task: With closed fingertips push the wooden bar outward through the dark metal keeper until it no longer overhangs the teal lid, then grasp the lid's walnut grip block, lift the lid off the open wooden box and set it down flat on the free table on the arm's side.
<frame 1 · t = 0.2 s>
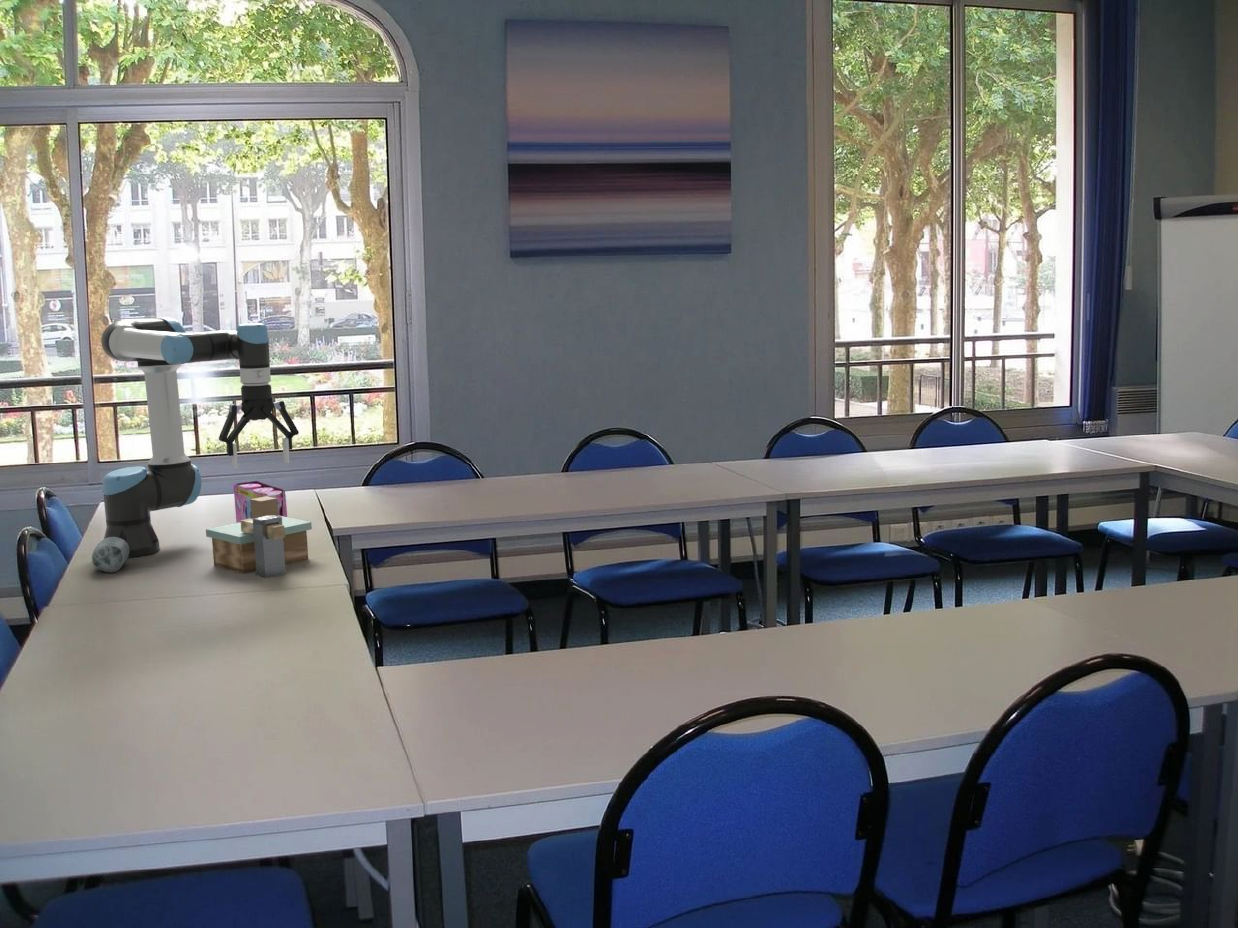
hand: (261, 465, 322), 27 cm above the table, fingers open, 13 cm apart
keeper: (271, 574, 318), on the table
lid: (259, 532, 331), point 8 cm above the table, touching open wooden box
spool: (112, 569, 329), on the table
wooden bar: (262, 528, 318), point 12 cm above the table, slide at 0.0 cm
open wooden box: (261, 561, 332), on the table
gum box: (262, 531, 371), on the table
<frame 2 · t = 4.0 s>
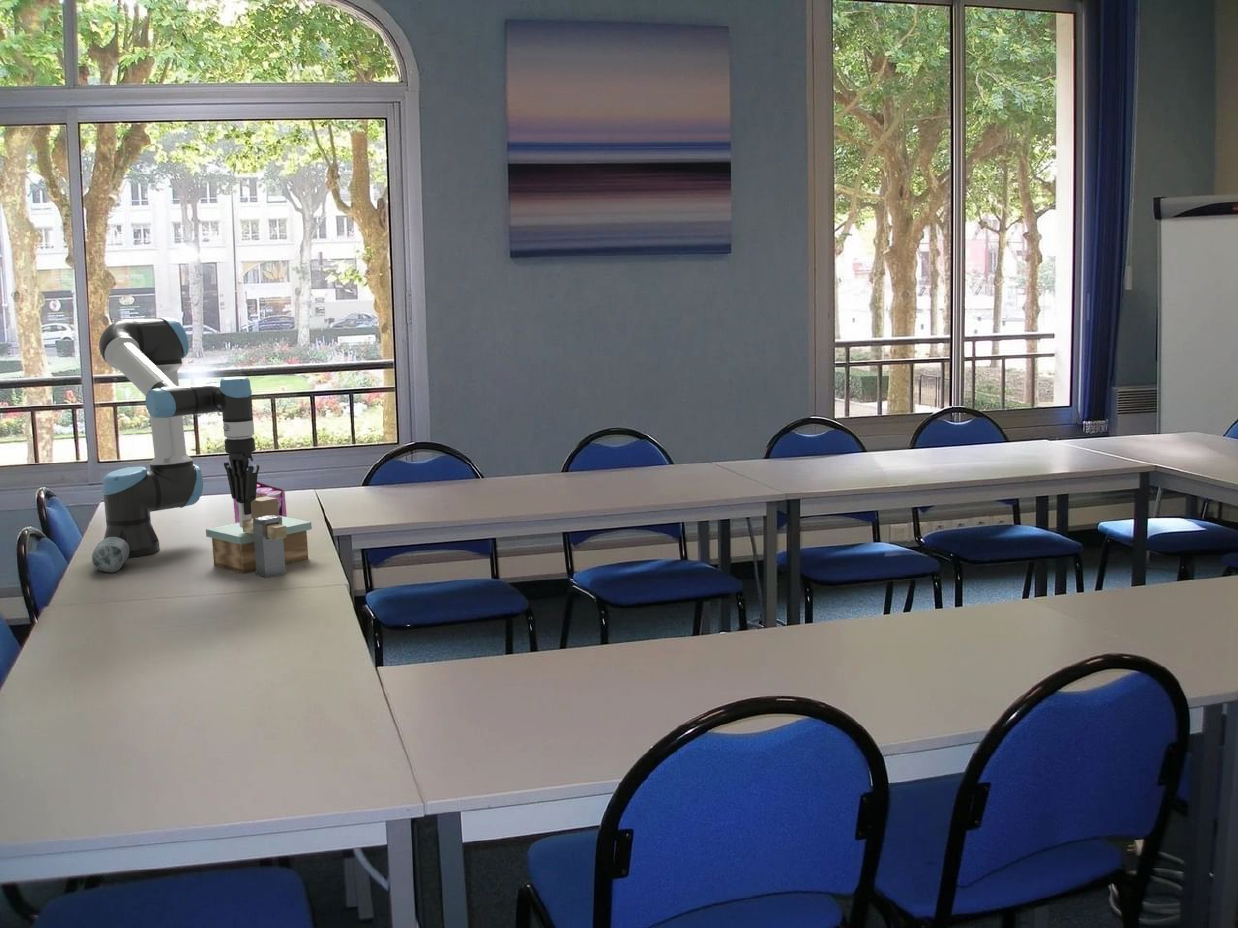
hand: (245, 526, 323), 11 cm above the table, fingers closed
wooden bar: (264, 528, 318), point 12 cm above the table, slide at 0.8 cm, touching gripper
everything else where it was.
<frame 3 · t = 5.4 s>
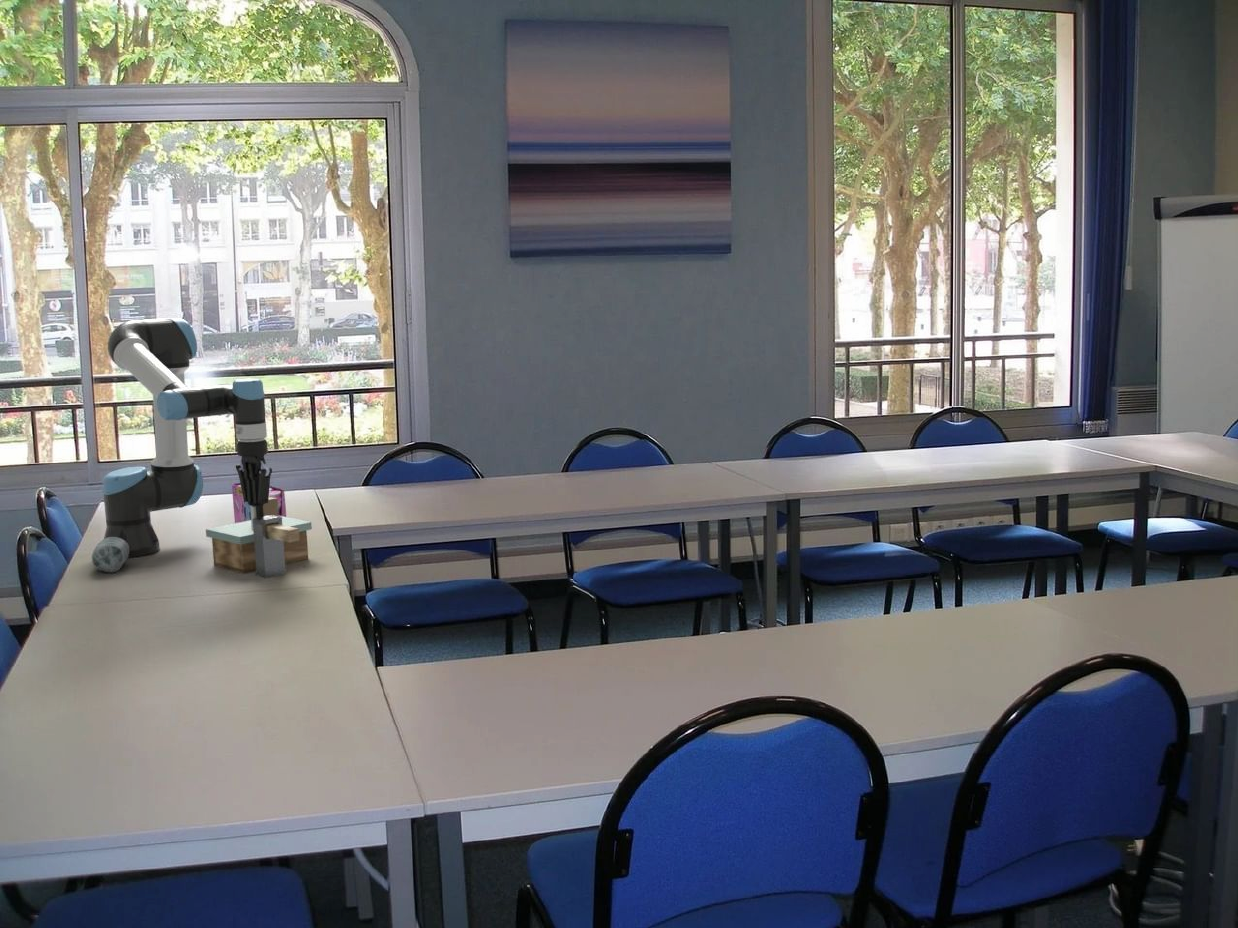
hand: (258, 529, 319), 11 cm above the table, fingers closed
wooden bar: (276, 531, 314), point 12 cm above the table, slide at 6.2 cm, touching gripper
everything else where it was.
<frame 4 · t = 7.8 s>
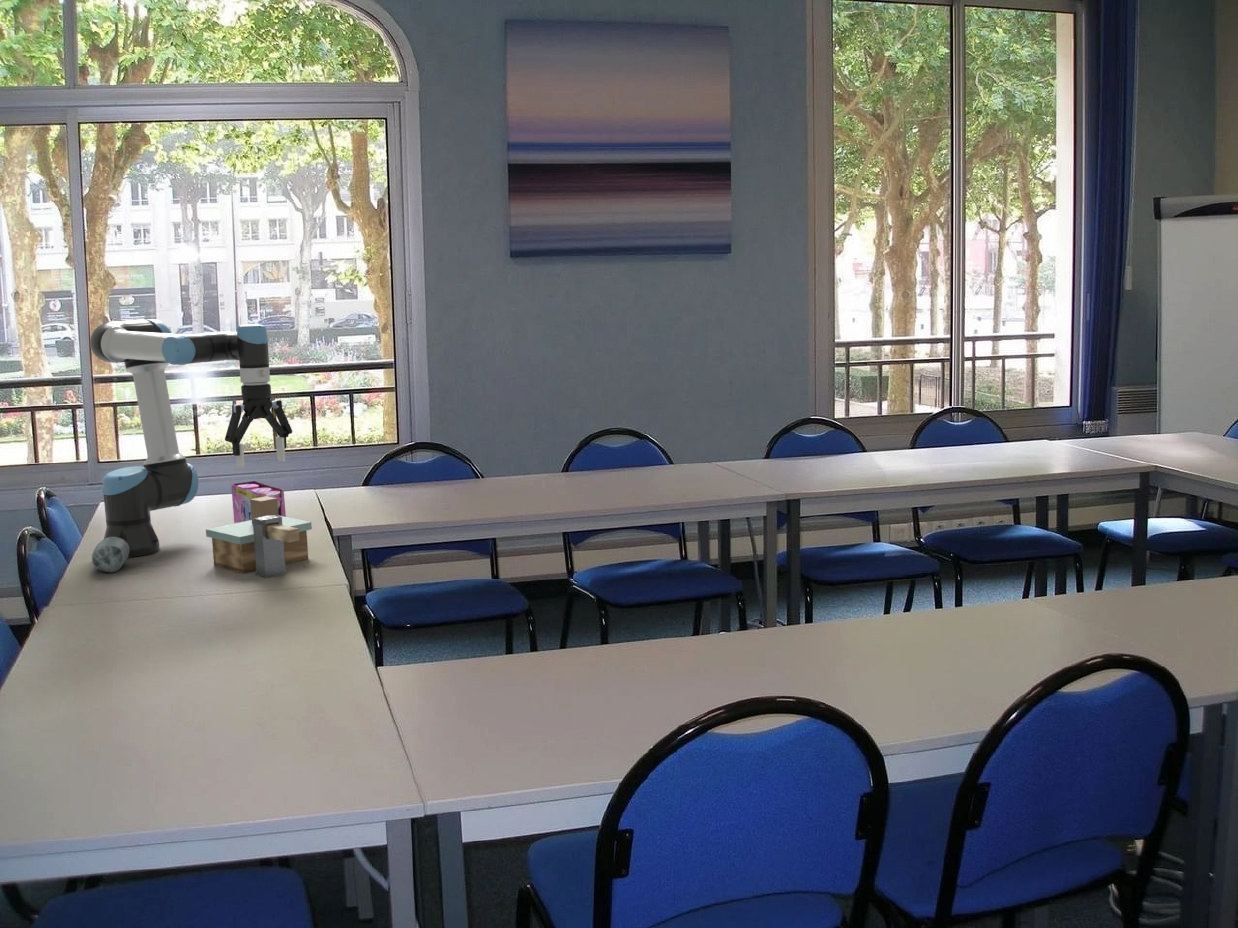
hand: (261, 464, 329), 26 cm above the table, fingers open, 12 cm apart
wooden bar: (276, 531, 314), point 12 cm above the table, slide at 6.2 cm
everything else where it was.
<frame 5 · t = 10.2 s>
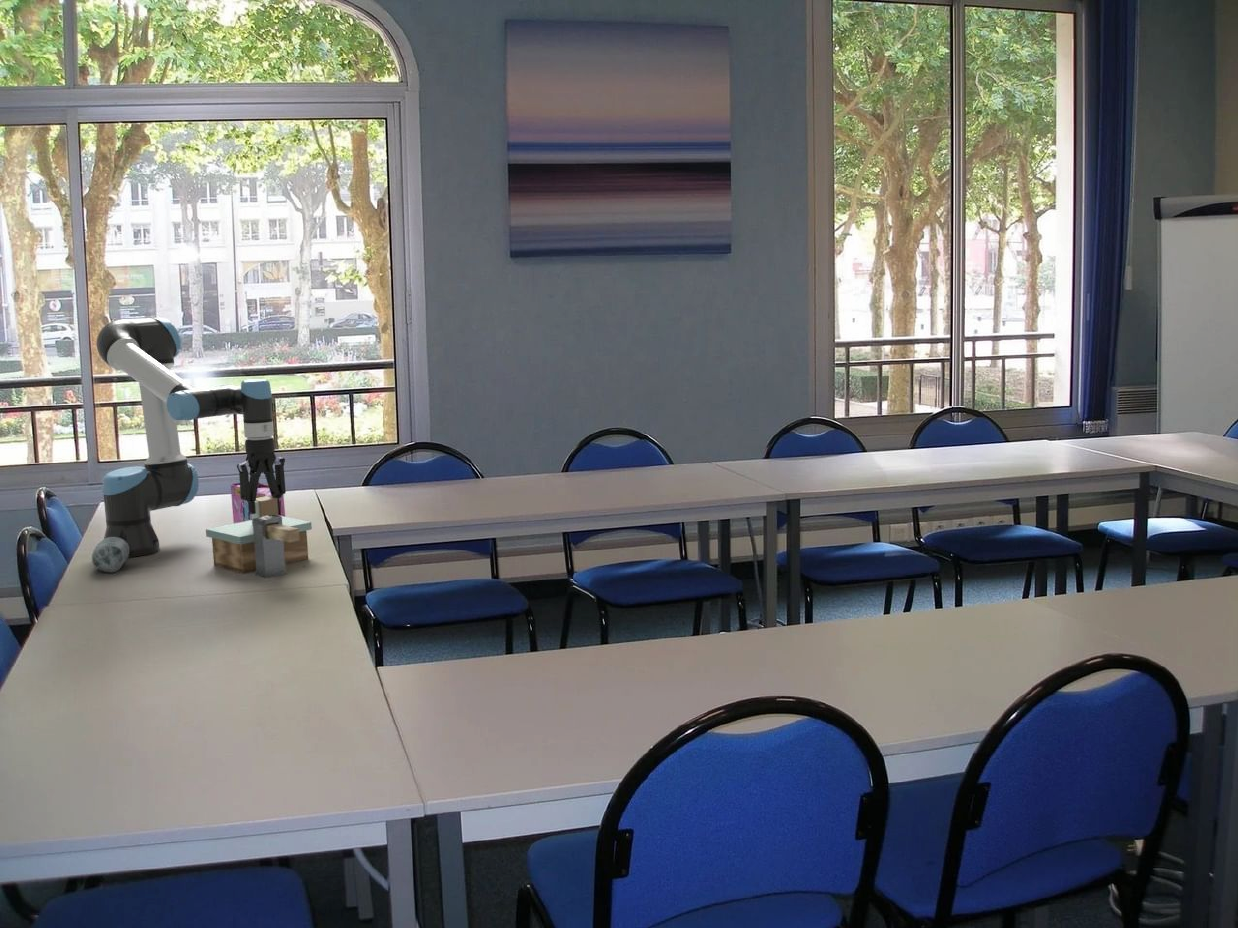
hand: (265, 523, 332), 10 cm above the table, fingers closed on lid, 5 cm apart
lid: (259, 532, 331), point 8 cm above the table, touching gripper, open wooden box
everything else where it was.
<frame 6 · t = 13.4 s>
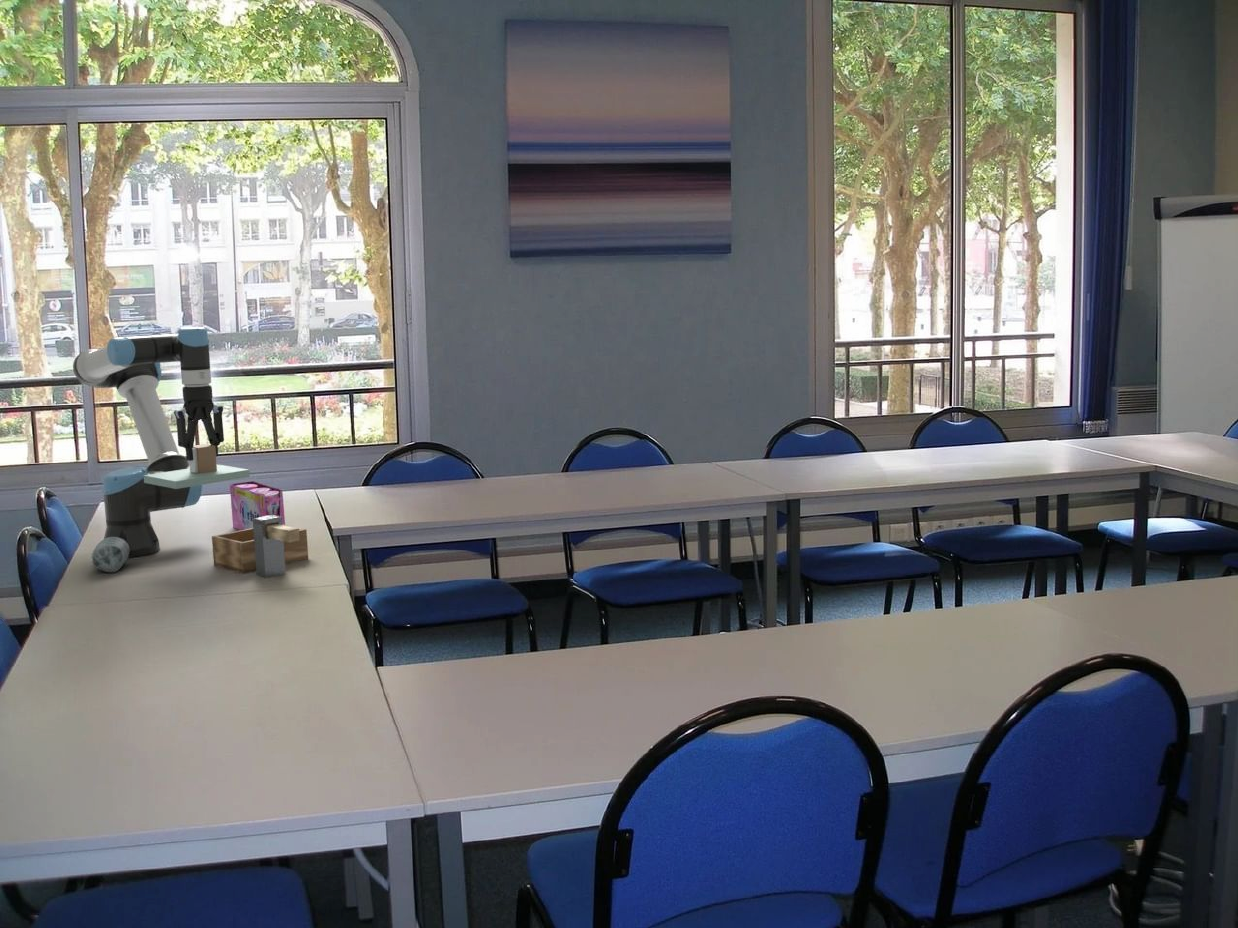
hand: (203, 470, 335), 24 cm above the table, fingers closed on lid, 5 cm apart
lid: (197, 479, 334), point 22 cm above the table, touching gripper
everything else where it was.
when the fingers open (4 cm above the table, at t = 17.1 s): lid drops 2 cm, on the table.
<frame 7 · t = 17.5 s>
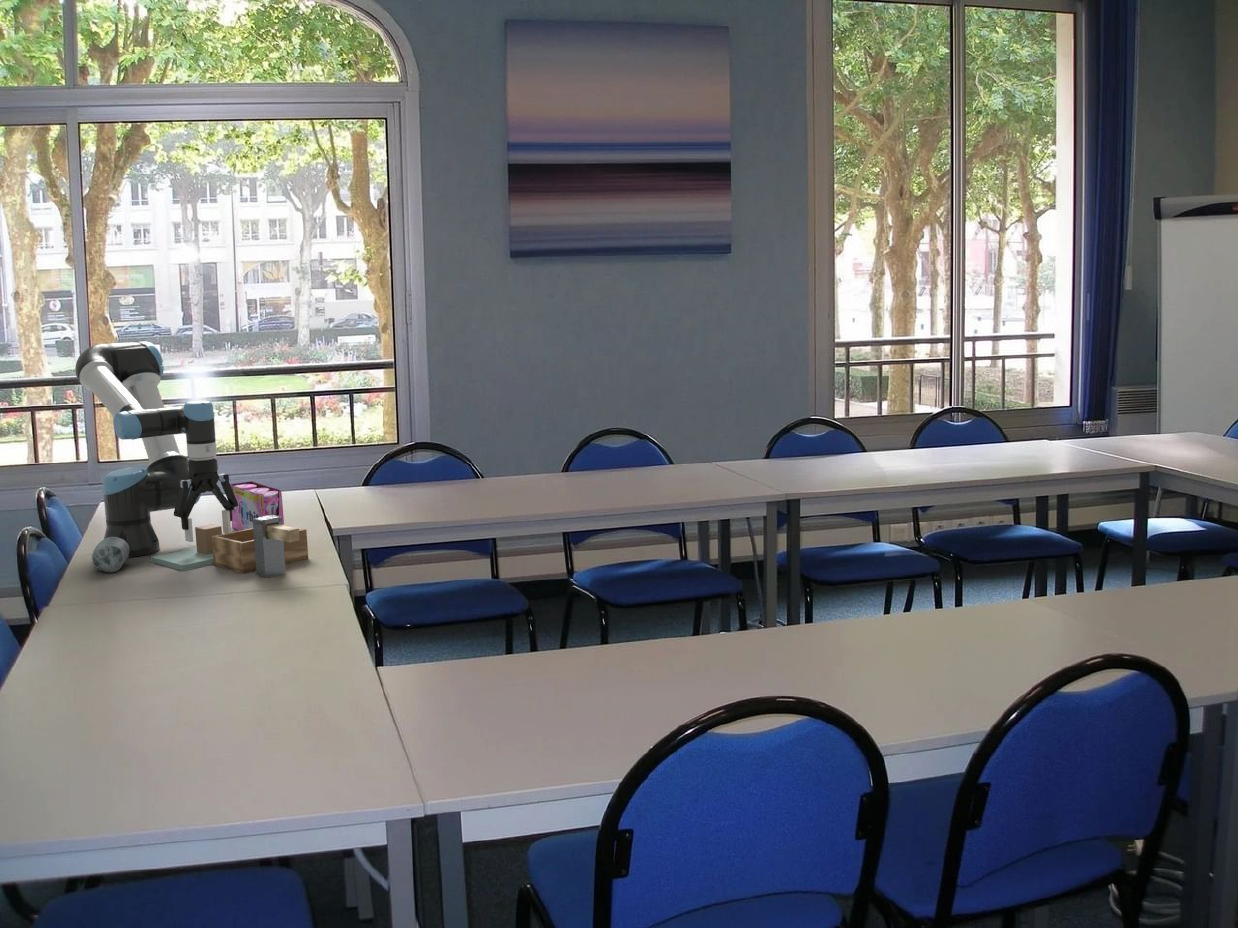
hand: (208, 537, 338), 5 cm above the table, fingers open, 11 cm apart
lid: (204, 560, 338), on the table
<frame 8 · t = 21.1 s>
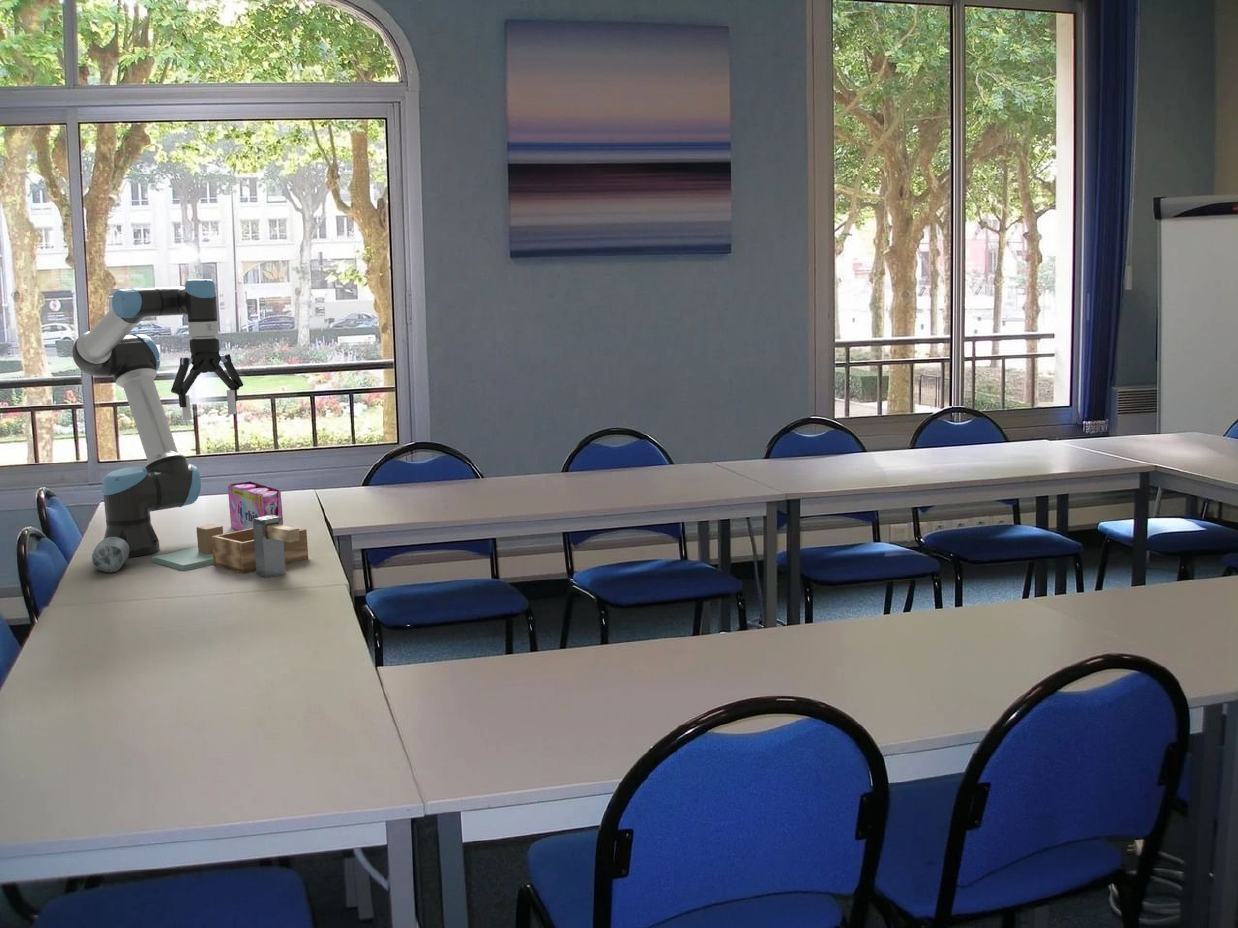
hand: (210, 416, 333), 39 cm above the table, fingers open, 13 cm apart
at the end: wooden bar slide at 6.2 cm; lid inside the target area (0.4 cm from its centre), on the table; lid tilted 0° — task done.
